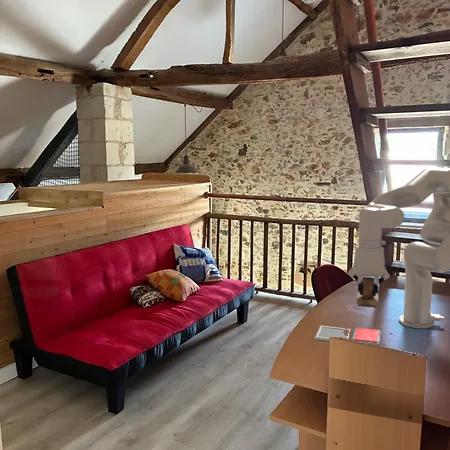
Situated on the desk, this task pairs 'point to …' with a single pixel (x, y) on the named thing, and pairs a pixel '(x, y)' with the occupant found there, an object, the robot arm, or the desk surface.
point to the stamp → (367, 293)
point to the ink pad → (367, 335)
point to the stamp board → (330, 333)
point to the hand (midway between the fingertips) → (367, 293)
